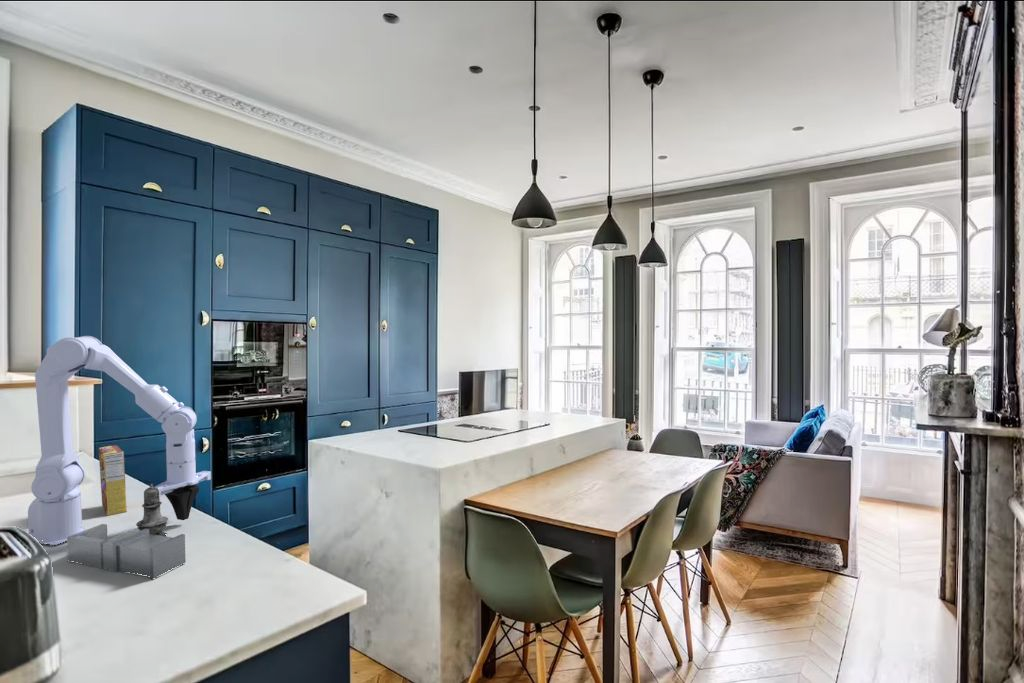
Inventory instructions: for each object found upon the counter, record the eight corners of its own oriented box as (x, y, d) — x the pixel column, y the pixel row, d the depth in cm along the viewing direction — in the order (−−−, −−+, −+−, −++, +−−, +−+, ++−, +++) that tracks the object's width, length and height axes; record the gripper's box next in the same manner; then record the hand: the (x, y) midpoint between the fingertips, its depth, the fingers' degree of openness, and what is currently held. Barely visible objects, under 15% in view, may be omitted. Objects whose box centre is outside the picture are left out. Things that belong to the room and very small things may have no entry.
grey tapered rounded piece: (153, 544, 116) (151, 488, 116) (129, 541, 118) (127, 486, 117) (175, 533, 122) (173, 480, 122) (152, 531, 123) (151, 478, 123)
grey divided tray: (65, 562, 108) (64, 533, 107) (103, 547, 115) (102, 520, 114) (153, 579, 101) (152, 548, 101) (188, 562, 108) (187, 533, 108)
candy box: (100, 507, 139) (98, 447, 138) (120, 503, 142) (118, 444, 141) (105, 516, 132) (103, 453, 131) (127, 512, 135) (125, 450, 134)
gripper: (166, 470, 118) (168, 532, 119) (220, 454, 132) (221, 509, 133) (141, 468, 120) (143, 528, 121) (197, 452, 134) (198, 506, 135)
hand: (182, 518), depth 127 cm, fingers closed
